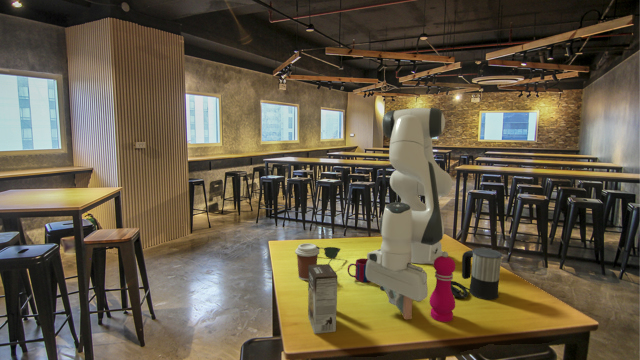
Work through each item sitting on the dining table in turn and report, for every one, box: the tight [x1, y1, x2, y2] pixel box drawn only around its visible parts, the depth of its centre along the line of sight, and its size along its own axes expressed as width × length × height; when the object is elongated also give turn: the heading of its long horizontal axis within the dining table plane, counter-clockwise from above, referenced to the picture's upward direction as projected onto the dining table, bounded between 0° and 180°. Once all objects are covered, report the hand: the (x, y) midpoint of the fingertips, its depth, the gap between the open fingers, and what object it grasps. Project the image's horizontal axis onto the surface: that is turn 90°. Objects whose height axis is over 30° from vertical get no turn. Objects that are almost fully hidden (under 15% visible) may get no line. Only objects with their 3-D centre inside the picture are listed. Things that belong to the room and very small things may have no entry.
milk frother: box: [451, 247, 503, 301], centre depth 120 cm, size 14×16×15 cm
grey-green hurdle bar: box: [383, 287, 413, 320], centre depth 112 cm, size 21×2×7 cm, turn 8°
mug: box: [347, 257, 372, 284], centre depth 132 cm, size 7×10×7 cm
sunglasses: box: [317, 246, 341, 265], centre depth 149 cm, size 16×17×5 cm
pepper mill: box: [429, 250, 456, 323], centre depth 105 cm, size 7×7×20 cm
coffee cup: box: [294, 243, 320, 281], centre depth 134 cm, size 9×9×12 cm
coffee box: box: [307, 263, 338, 335], centre depth 100 cm, size 9×6×16 cm
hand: (393, 303), depth 106 cm, fingers closed
